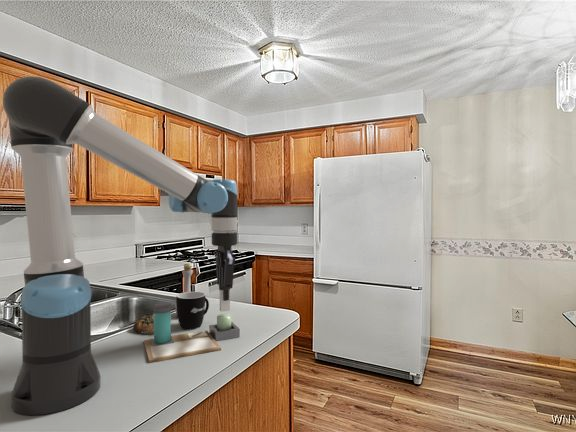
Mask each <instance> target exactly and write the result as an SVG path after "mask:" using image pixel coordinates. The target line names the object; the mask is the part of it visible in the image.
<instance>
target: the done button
mask: <svg viewBox="0 0 576 432" xmlns="http://www.w3.org/2000/svg"><path fill="white" fill-rule="evenodd" d="M231 322H232V314H229V313H223V314H217V317H216V324H217V330H218V331H222V330H229V329H231Z"/></svg>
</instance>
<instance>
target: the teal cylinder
mask: <svg viewBox="0 0 576 432" xmlns="http://www.w3.org/2000/svg"><path fill="white" fill-rule="evenodd" d="M171 311H172V304H171V303H169V302H161V303H156V304H154V305H153V314H154V334H153V338H154V343H157V344H163V343H167V342H169V341H171V336H172V331H171V327H172V325H171V324H172V314H171V313H172V312H171Z"/></svg>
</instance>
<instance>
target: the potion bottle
mask: <svg viewBox="0 0 576 432" xmlns="http://www.w3.org/2000/svg"><path fill="white" fill-rule="evenodd" d="M181 270H182V271H181V273H182V275H183V283H184V284H183V287H184V289H183V290H184V291H183V293H185V292H192V291H191V286H192V285H191V284H192V283H191V277H192V276H193V273H194V270H193V269H192V265H191V264H189V263H184V264H183V269H181ZM174 308H175V312H176V313H177V305H176V301H175V303H174Z"/></svg>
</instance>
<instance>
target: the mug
mask: <svg viewBox="0 0 576 432" xmlns="http://www.w3.org/2000/svg"><path fill="white" fill-rule="evenodd" d="M175 302H176V305H177V312H176V314H177V315H176V316H177V321H178V325H179V327H180V328H181V329H182V330H188V329H189V330H196V329H198V328H200V327H201V326H202V325H203V321H204V316H205V315H206V314H207V312H208V310H209V308H210V303H209V302H210V301H209V299H208V298H206V293H205V292H201V291H191V292H185V293H184V292H181V293H178V294H177V295H176V299H175Z"/></svg>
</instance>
